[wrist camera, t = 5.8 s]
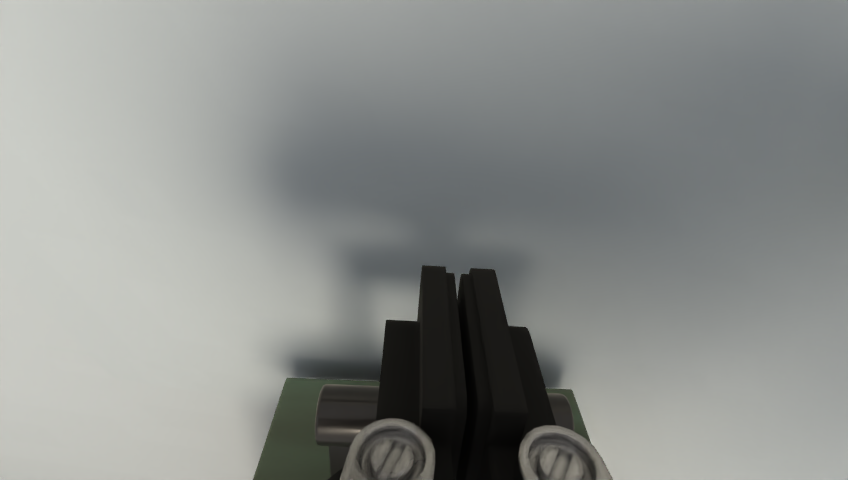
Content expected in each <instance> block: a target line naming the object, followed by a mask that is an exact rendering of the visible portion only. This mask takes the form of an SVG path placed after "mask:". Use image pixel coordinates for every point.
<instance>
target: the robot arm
mask: <svg viewBox="0 0 848 480" xmlns="http://www.w3.org/2000/svg"><path fill="white" fill-rule="evenodd" d="M327 480H613V478H612V477H611V475H610V473H609V471H608V469H607V467H606V465H605V463H604V461H603V459H602V457H601V456H600V455H599V453H598V452H597V450H596V449H595V447H594V446H593V445H592V444H591V443H590V442H589V441H587V440H586V439H585V438H584V437H583V436H581V435H579V434H578V433H576V432H574V431H572V430H570V429H567V428H564V427H561V426H556V422H555V419H554V415H553V412H552V408H551V405H550V402H549V398H548V395H547V391H546V388H545V384H544V381H543V377H542V374H541V371H540V367H539V364H538V360H537V357H536V353H535V350H534V346H533V343H532V340H531V336H530V333H529V331H528V329H527V328H526V327H513V326H508V323H507V319H506V315H505V311H504V306H503V302H502V298H501V294H500V290H499V285H498V281H497V277H496V273H495V270H494V269H477V268H471V269H470V271H469V274H461V277H460V283H459V291H458V298H457V294H456V284H455V275H454V273H446V267H442V266H425V265H422V271H421V283H420V295H419V307H418V319H417V321H399V320H386V326H385V336H384V346H383V356H382V365H381V375H380V385H379V395H378V404H377V414H376V421H375V422H373V423H371V424H369V425H368V426H366V427H364V428H363V429H362V430H361V431H360V432H359V433H358V434H357V435H356V436H355V438H354V440H353V442H352V444H351V446H350V448H349V452H348V455H347V458H346V461H345V464H344V467H343V468H342V469H340V470H339V471H338V472H336V473H335V474H334V475H333V476H331V477H330V478H329V479H327Z"/></svg>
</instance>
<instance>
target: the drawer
mask: <svg viewBox="0 0 848 480" xmlns="http://www.w3.org/2000/svg"><path fill="white" fill-rule="evenodd" d="M379 385H380V382H378V381H354V380H330V379H306V378H287V379H286V381H285V384H284V387H283V390H282V393H281V396H280V399H279V402H278V405H277V408H276V411H275V414H274V417H273V420H272V423H271V426H270V429H269V433H268V436H267V439H266V442H265V445H264V448H263V451H262V454H261V457H260V460H259V463H258V466H257V469H256V472H255V475H254V478H253V480H327V479H329V478H330V477H331V476H333V475H334V474H335V473H336V472H338V471H339V470H340V469H342V468H343V467H344V464H345V461H346V458H347V455H348V452H349V448H350V446H351V444H352V442H353V440H354V438H355V436H356V435H357V434H358V433H359V432H360V431H361V430H362V429H363V428H364V427H366V426H368V425H369V424H371V423H373V422H375V421H376V414H377V404H378V395H379ZM546 391H547V395H548V398H549V402H550V405H551V408H552V412H553V415H554V419H555V422H556V426H561V427H564V428H567V429H570V430H572V431H574V432H576V433H578V434H579V435H581V436H583V437H584V438H585V439H586V440H587V441H589V442H590V439H589V436H588V434H587V431H586V428H585V425H584V422H583V419H582V416H581V414H580V411H579V408H578V405H577V402H576V399H575V397H574V394H573V391H572V390H571V389H547V388H546ZM590 443H591V442H590Z"/></svg>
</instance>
